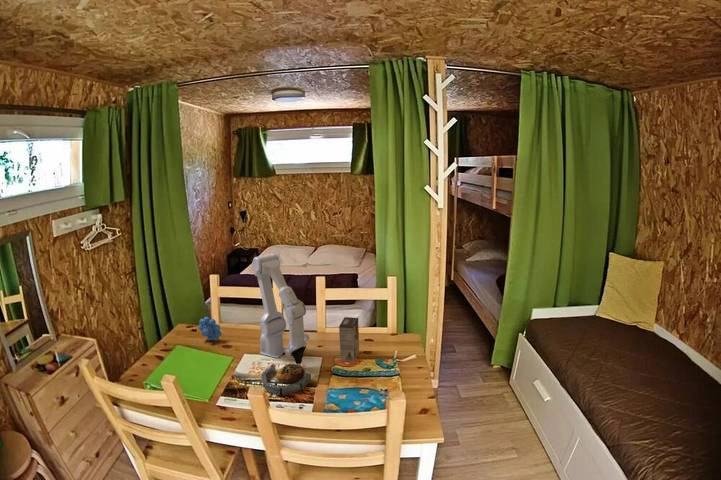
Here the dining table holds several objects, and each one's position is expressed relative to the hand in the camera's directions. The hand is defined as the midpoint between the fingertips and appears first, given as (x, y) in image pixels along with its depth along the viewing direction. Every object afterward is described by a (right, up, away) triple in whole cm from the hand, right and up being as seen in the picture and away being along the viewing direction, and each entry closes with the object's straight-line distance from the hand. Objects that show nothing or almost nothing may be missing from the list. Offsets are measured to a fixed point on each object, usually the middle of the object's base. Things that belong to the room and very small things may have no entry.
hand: (298, 363), depth 142 cm
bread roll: (-2, -4, -5) cm, 6 cm away
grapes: (-46, +2, +23) cm, 51 cm away
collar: (-4, -4, -10) cm, 12 cm away
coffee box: (+21, 0, +8) cm, 22 cm away
